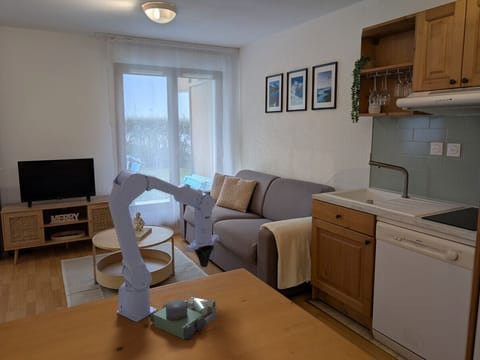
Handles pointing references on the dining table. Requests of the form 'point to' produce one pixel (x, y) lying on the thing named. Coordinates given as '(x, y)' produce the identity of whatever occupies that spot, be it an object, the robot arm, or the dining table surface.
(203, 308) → the pipe fitting
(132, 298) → the robot arm
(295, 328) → the dining table surface
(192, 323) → the grey-green knobbed block
